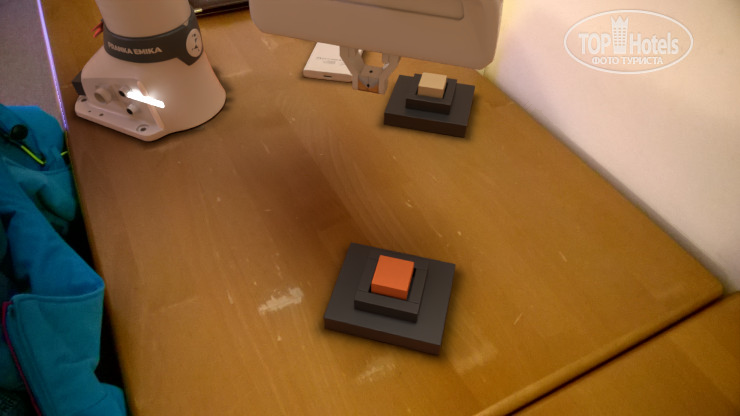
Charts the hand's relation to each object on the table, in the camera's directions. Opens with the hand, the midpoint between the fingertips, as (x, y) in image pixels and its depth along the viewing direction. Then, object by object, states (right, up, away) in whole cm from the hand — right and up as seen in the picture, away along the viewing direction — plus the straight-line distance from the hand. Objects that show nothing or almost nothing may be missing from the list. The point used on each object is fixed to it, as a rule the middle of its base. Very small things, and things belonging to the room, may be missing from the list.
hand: (370, 88), depth 45 cm
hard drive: (-6, +15, +41) cm, 44 cm away
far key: (+9, +7, +29) cm, 31 cm away
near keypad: (+2, -21, +9) cm, 23 cm away
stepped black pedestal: (+9, +4, +31) cm, 33 cm away
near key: (+2, -18, +7) cm, 20 cm away
